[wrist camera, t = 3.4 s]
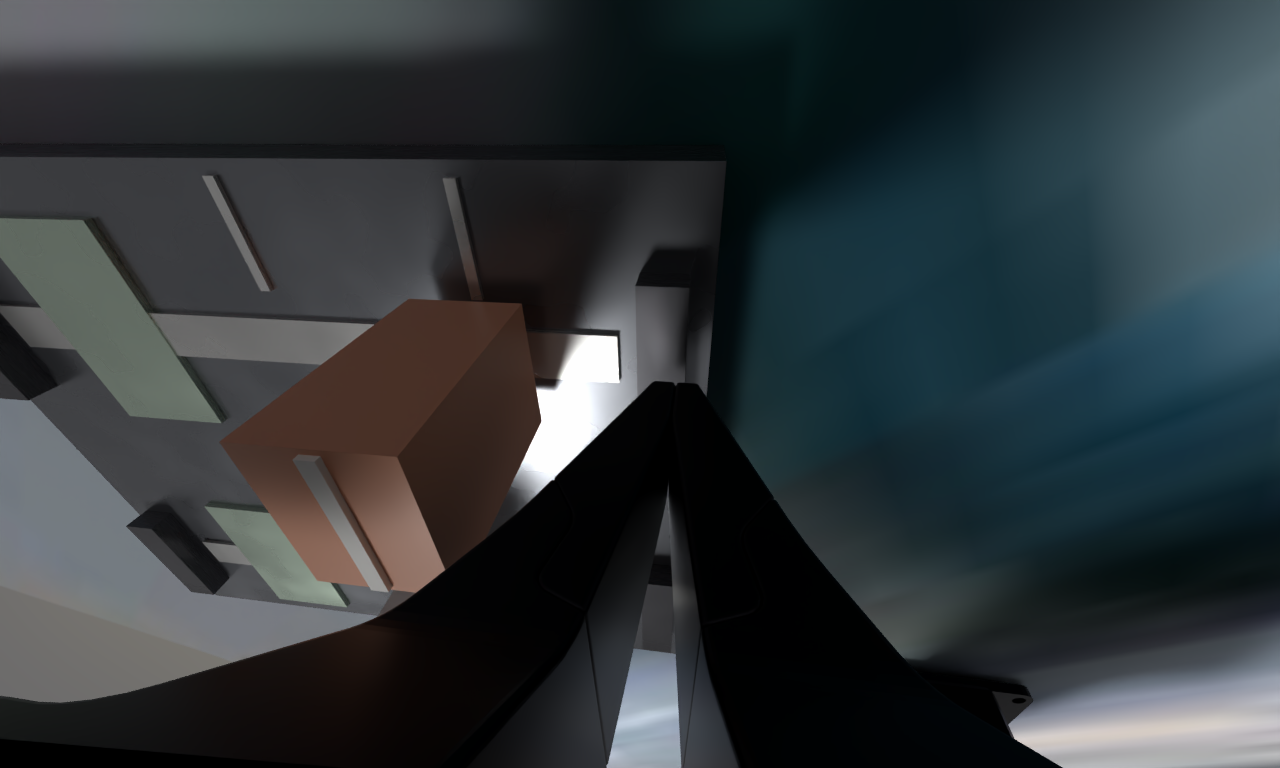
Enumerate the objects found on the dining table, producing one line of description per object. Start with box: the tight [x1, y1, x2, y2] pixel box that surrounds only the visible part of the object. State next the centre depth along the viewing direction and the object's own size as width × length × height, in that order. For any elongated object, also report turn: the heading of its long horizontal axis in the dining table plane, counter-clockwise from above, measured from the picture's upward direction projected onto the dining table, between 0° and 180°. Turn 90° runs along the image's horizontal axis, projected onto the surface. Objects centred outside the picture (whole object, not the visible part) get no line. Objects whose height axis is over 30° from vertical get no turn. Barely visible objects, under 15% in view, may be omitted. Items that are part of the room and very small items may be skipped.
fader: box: [219, 299, 542, 593], centre depth 8 cm, size 3×2×4 cm
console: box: [0, 144, 727, 654], centre depth 14 cm, size 17×20×3 cm
